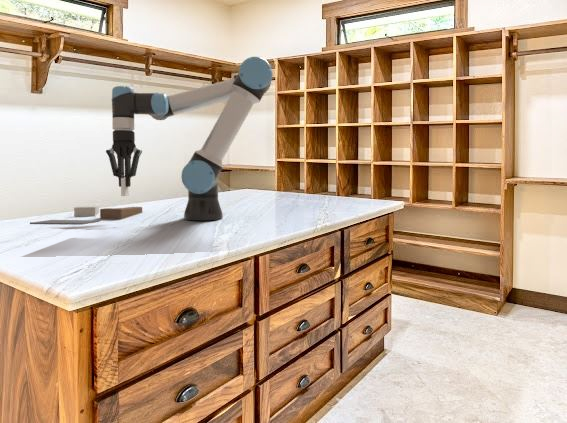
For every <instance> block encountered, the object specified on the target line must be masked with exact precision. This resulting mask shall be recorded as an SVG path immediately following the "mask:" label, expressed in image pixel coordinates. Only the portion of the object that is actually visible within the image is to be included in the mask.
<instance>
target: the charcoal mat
mask: <svg viewBox="0 0 567 423" xmlns="http://www.w3.org/2000/svg"><path fill="white" fill-rule="evenodd" d="M101 220H102V219H100V220H99V219H97V220H96V219H95V220H94V219H93V220H92V219H88V220H87V219H48V220H41V221H33V222H29V224H30V225H47V224H48V225H86V224H94V223H99V221H100V222H101Z"/></svg>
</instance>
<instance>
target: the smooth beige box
mask: <svg viewBox="0 0 567 423" xmlns="http://www.w3.org/2000/svg"><path fill="white" fill-rule="evenodd" d="M73 212H74V216H76V217H96V216H97V215H99V214H100V206H98V205H96V206H75V207H73ZM98 213H99V214H98ZM95 215H96V216H95Z"/></svg>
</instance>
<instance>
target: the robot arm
mask: <svg viewBox="0 0 567 423" xmlns="http://www.w3.org/2000/svg"><path fill="white" fill-rule="evenodd" d="M237 73H238V74H236V75H235V74H234V75H232V76H231V78H230V79H227V80H223V81H220V82H215V83H211V84H208V85H204V86H200V87H197V88H193V89H190V90H186V91H183V92H182V91H181V92H178V93H175V94H170V95H167V94H166V93H159V92H143V93H141V92H135V91H134V88H133V87H131V86H125V85H117V86H113V88H112V90H111V110H112V111H111V112H112V117H111V118H112V119H111V120H112V127H111V128H112V130H113V131H112V145H111V148H109V149H106V150H105V154H106V155H107V156H108V159H109V162H110V167H111V172H112V175H113V177H117V178H118V187H120V195H121V197H129V188H130V187H131V179H132V178H133V177H135V176H136V174H137V169H138V165H139V161H140V157H141V155H142V153H143V151H142V149H139V148H137V145H136V143H135V140H136V137H135V132H134V130H135V115H149V116H150V117H152V119H153V120H156V121H165V120H166V119H167V118H170V117H173V116H175V115H179V114H183V113H187V112H191V111H194V110H199V109H201V108H205V107H209V106H213V105H218V104H221V103H224V102H226V104H225V106H224V108H223V109H222V111H221V113H220V115H219V117H218V118H217V120H216V121H215V124H214V125H213V127H212V129H211V131H210V133H209V134H208V136H207V138H206V139H205V142H204V143H203V145H202V147H201V148H200V149H198V150H196V151H194V153H193V155H192V156H191V158H190V159H189V161H188V162H187V164H185V165H184V167H183V168H182V171H181V177H180V178H181V183H182V184H183V185H184V188H186V189H187V191H188V192H187V194H188V195H187V196H188V198H187V199H188V200H187V204H186V207H185V209H184V212H183V219H184V220H187V221H213V220H214V221H215V220H216V221H218V220H223V218H224V217H223V216H224V215H223V210H222V208H221V205H220V202H219V175H220V174H221V172H222V170H223V169H224V164H223V160H224V158H225V157H226V154H227V153H228V151H229V149H230V148H231V145H232V144H233V141H234V140H235V138H236V136H237V135H238V132H239V131H240V129H241V127H242V125H243V124H244V122H245V120H246V119H247V117H248V115H249V113H250V111H251V109H252V107H253V106H254V105H255V104H259V103H260V102H261V100H262V99H263V96H264V95H265V94H266V93H267V91H268V90H269V89H270V87H271V84H272V79H273V69H272V67H271V64H270V63H269V62H268V60H266V59H265V58H262V57H260V56H250V57H247V58H246V59H244V60H243V61H242V63H241V64H240V66H239V69H238V72H237ZM115 154H116V155H115ZM132 154H133V156H132ZM116 158H117V160H116ZM131 159H132V160H131Z"/></svg>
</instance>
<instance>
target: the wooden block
mask: <svg viewBox="0 0 567 423" xmlns="http://www.w3.org/2000/svg"><path fill="white" fill-rule="evenodd" d="M142 213H143V207H142V206H128V207H118V208H117V207H116V208H108V207H107V208H105V207H104V208H99V215H100V216H99V218H100V220H123V219H127V218H130V217H133V216H137V215H140V214H142Z"/></svg>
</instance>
